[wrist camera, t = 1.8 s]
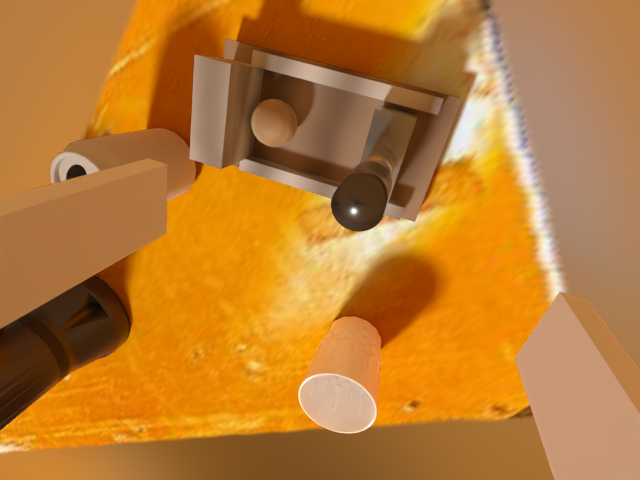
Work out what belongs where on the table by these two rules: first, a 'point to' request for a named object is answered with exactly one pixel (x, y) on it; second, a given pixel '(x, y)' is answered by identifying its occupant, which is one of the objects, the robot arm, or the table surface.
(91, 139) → the can
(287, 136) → the tan ball
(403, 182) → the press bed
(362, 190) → the ram
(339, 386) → the white cup
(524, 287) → the table surface
